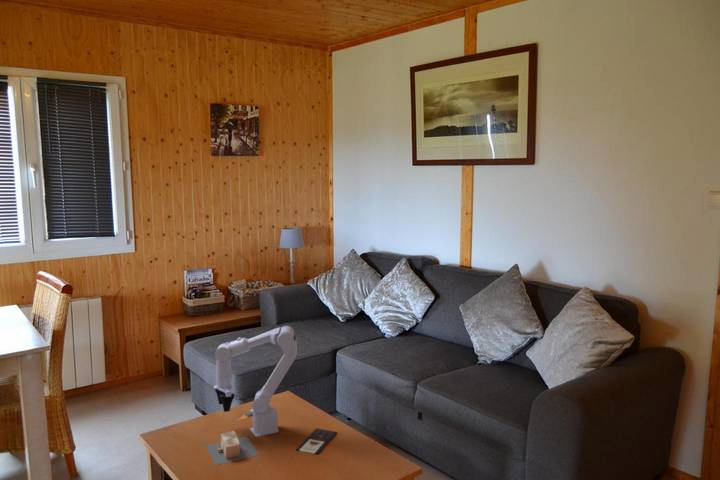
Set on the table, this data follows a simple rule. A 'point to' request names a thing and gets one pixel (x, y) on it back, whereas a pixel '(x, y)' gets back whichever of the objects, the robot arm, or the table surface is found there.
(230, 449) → the birch block
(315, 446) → the chocolate bar
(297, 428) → the table surface
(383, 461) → the table surface
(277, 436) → the table surface
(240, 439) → the rubber mat
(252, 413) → the key chain
